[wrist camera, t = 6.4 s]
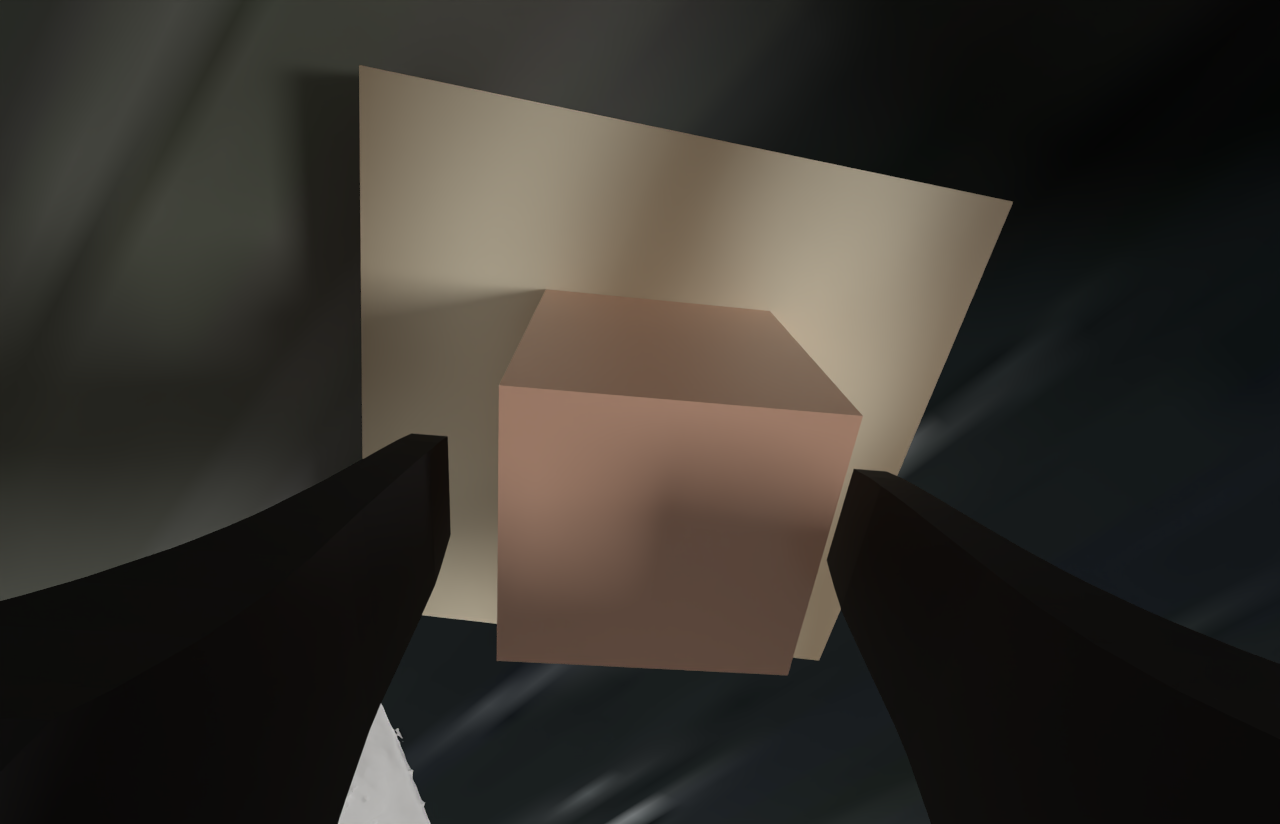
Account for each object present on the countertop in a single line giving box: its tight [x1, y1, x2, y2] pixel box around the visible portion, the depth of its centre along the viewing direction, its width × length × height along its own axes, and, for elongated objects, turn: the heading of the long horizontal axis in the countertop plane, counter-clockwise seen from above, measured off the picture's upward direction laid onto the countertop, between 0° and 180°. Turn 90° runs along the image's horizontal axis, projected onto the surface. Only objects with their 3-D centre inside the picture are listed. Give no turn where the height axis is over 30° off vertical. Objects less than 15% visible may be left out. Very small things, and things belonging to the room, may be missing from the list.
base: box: [359, 65, 1013, 660], centre depth 14 cm, size 12×12×2 cm
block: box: [497, 289, 863, 675], centre depth 10 cm, size 4×4×5 cm
